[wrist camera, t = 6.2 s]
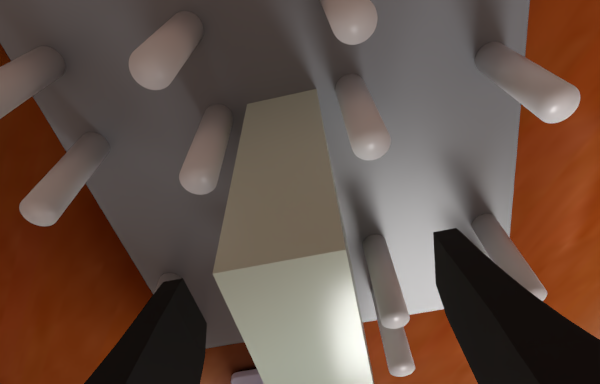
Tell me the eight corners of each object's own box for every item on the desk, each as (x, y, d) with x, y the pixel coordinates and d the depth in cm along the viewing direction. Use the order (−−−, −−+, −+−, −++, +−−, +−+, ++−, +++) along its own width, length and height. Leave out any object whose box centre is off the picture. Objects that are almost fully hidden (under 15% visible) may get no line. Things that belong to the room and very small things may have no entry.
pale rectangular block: (350, 260, 18) (389, 460, 11) (297, 270, 18) (304, 471, 12) (316, 88, 14) (345, 250, 7) (246, 104, 14) (212, 273, 7)
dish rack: (495, 283, 21) (548, 375, 16) (191, 335, 22) (169, 431, 18) (523, -142, 11) (661, -175, 7) (-4, -2, 13) (-143, 36, 9)
